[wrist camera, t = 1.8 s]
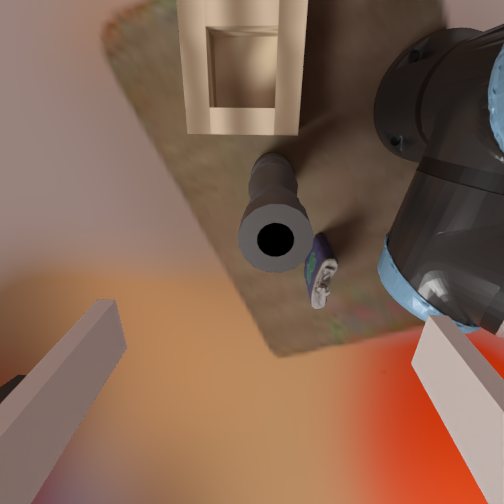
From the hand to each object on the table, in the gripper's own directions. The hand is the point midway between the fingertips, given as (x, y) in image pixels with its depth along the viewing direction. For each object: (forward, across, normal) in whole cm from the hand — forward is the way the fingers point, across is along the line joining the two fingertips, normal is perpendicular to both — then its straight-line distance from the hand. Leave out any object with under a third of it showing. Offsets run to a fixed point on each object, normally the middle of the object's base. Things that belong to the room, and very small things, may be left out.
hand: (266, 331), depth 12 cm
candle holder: (+35, 0, 0) cm, 35 cm away
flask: (+35, -8, +14) cm, 39 cm away
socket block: (+35, +4, -13) cm, 38 cm away
